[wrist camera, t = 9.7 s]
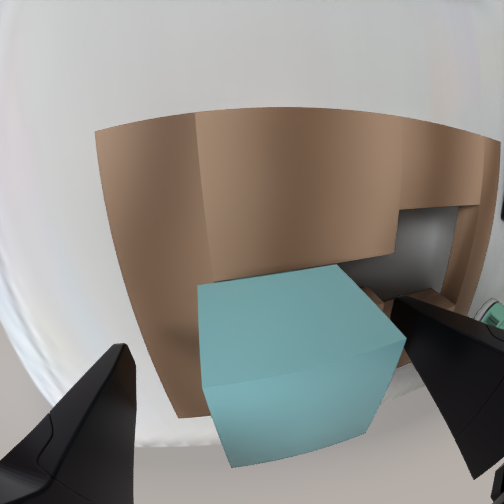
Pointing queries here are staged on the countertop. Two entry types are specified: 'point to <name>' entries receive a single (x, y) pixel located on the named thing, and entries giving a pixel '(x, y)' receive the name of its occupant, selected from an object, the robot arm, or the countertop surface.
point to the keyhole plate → (278, 209)
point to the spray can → (492, 313)
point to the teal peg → (292, 361)
